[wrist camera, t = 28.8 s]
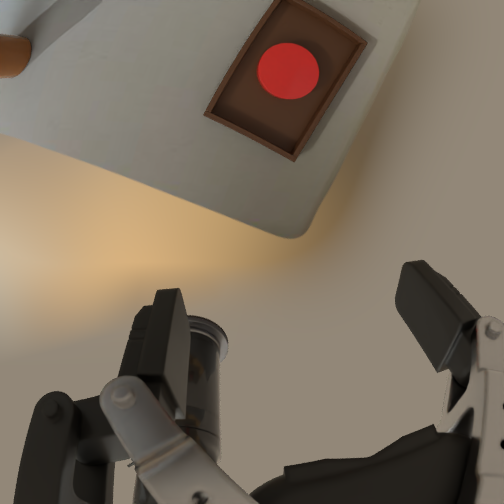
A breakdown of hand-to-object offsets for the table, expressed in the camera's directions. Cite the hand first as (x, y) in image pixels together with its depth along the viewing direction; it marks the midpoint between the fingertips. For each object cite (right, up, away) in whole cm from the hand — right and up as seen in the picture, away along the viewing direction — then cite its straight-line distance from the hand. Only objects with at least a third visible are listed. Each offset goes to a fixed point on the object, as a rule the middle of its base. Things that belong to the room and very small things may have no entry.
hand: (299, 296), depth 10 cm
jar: (-33, +27, +12) cm, 44 cm away
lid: (+2, +20, +17) cm, 26 cm away
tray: (+2, +21, +19) cm, 28 cm away
